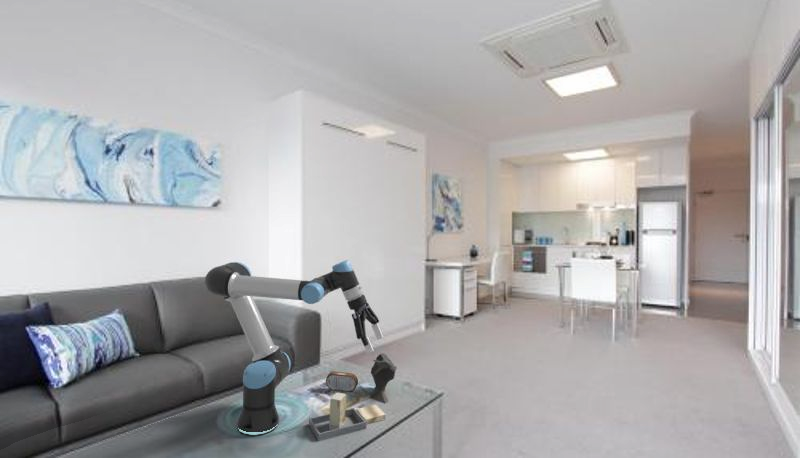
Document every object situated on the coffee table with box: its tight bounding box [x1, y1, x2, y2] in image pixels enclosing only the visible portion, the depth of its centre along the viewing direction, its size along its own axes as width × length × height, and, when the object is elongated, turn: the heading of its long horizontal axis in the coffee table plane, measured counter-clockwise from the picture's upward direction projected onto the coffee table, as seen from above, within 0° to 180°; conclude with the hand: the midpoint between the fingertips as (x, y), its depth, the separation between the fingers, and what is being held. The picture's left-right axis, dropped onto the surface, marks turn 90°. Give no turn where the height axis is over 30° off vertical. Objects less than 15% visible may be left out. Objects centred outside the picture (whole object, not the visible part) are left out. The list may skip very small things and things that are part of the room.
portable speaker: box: [325, 371, 359, 393], centre depth 190 cm, size 15×3×8 cm, turn 84°
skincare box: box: [328, 392, 347, 431], centre depth 159 cm, size 6×4×12 cm
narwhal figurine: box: [369, 353, 397, 404], centre depth 189 cm, size 14×15×18 cm
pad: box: [355, 404, 386, 425], centre depth 168 cm, size 9×9×2 cm
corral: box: [308, 407, 367, 442], centre depth 159 cm, size 19×12×2 cm, turn 120°
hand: (375, 345), depth 166 cm, fingers open, 13 cm apart
